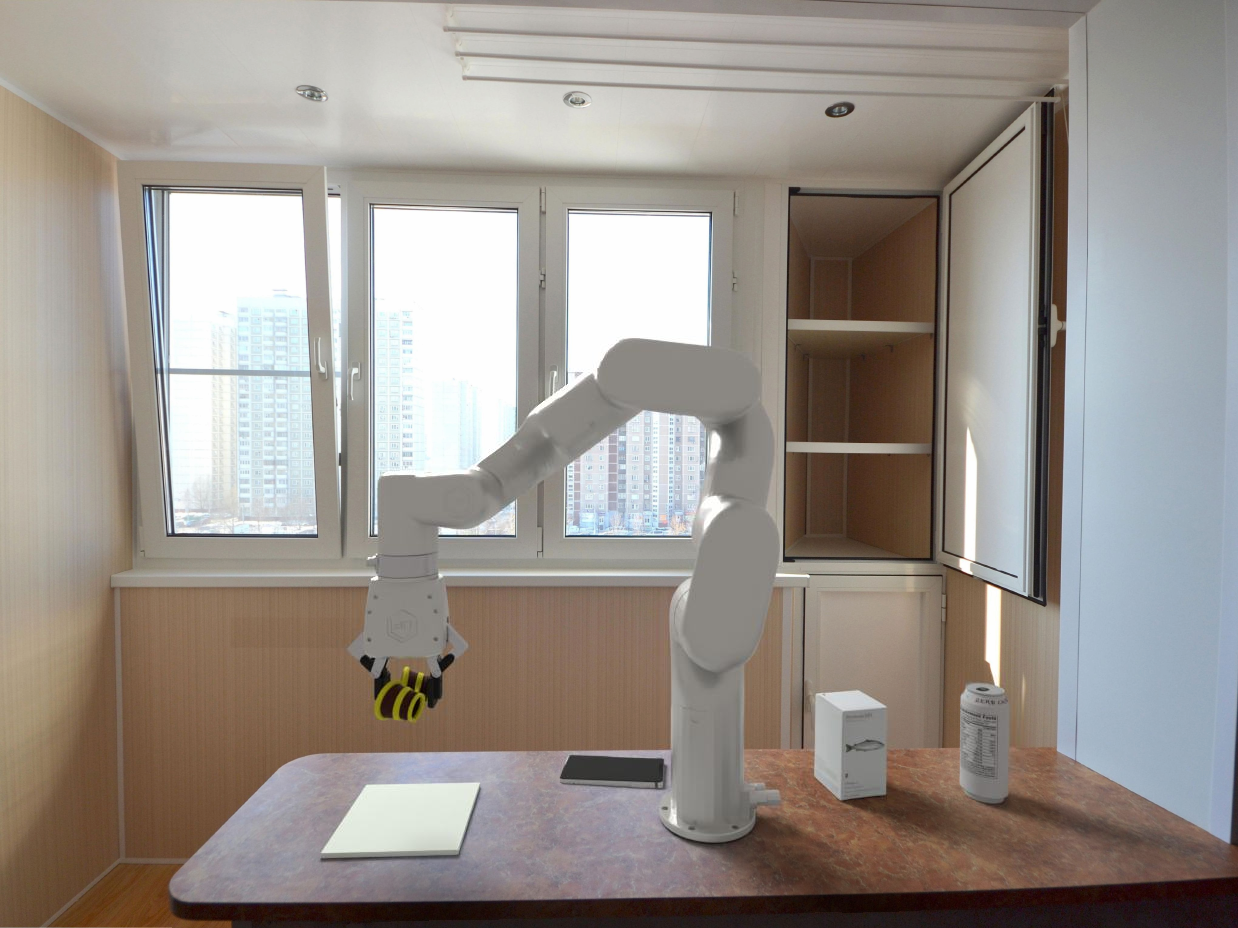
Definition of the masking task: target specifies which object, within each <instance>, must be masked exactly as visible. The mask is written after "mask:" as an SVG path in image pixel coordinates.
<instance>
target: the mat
mask: <svg viewBox="0 0 1238 928" xmlns="http://www.w3.org/2000/svg"><path fill="white" fill-rule="evenodd" d="M480 788H481V782H480V781H479V782H439V783H437V782H436V783H435V782H434V783H431V782H430V783H396V784H395V783H394V784H393V783H389V784H385V783H384V784H366V785H365V786H364V787H363V789H362V791H361V792H360V794H359V795H358V797H357V798H356V799H355V800H354V802H353V804H352V805H351V807H350V809H349V810H348V812H347V813H346V814H345V816H344V818H343V819H342V820H341V822H340V824H339V825H338V827H337V828H336V829H335V831H333V834H332V836H331V837H330V838H329V840H328V841H327V843H326V844H325V846H324V847H323V849H322V850H321V852H320V859H340V858H341V859H343V858H345V859H346V858H347V859H348V858H381V857H382V858H383V857H420V856H421V857H423V856H457V855H459V853H460V850H461V847H462V844H463V841H464V838H465V834H466V831H467V828H468V825H469V823H470V819H471V816H472V813H473V810H474V807H475V804H476V800H477V798H478V795H479V791H480Z"/></svg>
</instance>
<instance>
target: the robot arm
mask: <svg viewBox="0 0 1238 928" xmlns="http://www.w3.org/2000/svg"><path fill="white" fill-rule="evenodd" d="M762 391H763V379H762V374H761V372H760V369H759V368H758V366H757V364H756V363H755V362H754V361H753V359H751V357H750V356H748V355H746V354H744V353H743V352H741V351H739V350H736V349H732V348H727V347H722V346H713V345H711V346H710V345H704V344H694V343H686V342H684V343H683V342H677V341H676V342H675V341H667V340H665V341H664V340H659V339H650V338H649V339H648V338H639V337H628V338H622V339H619V340H616V341H615V342H613V343H611V344H610V345H609V346H608V347H606V348H605V349H604V350H603V351H602V354H601V355H600V357H599V359H598V361H597V362H596V363H595V364H594V365H592V366H591V367H589V368H588V369H587V370H586V371H584V372H583V373H582V374H580V375H579V376H578V377H577V378H575V379H574V380H572V381H571V382H569V383H568V384H566V386H563V388H561V389H560V390H558V391H556V392H555V393H554V394H553V395H551V396H549V397H548V398H547V399H545V400H544V401H543V402H541V403H540V404H539V405H537V406H536V407H535V408H534V409H533V410H532V411H531V412H530V413H529V414H528V415H527V416H526V418H525V419H524V421H523V422H522V425H520V427H519V428H518V429H517V430H516V432H515V433H513V435H511V436H510V437H509V438H508V439H507V440H506V441H504V442H503V443H502V444H501V445H500V446H498V447H497V448H496V449H494V450H492V451H491V452H490V453H489V454H487V455H486V456H485V457H483V458H481V459H480V460H479V461H478V462H476V463H475V464H474V465H472V466H470V467H469V468H464V469H457V470H451V471H447V472H436V473H432V472H430V471H425V470H395V471H394V470H393V471H386V472H384V473H382V474H381V475H380V476H379V478H378V480H377V488H376V491H377V493H376V494H377V495H376V496H377V503H376V504H377V508H376V509H377V514H376V515H377V517H376V518H377V522H376V523H377V553H376V554H375V555H373V556H372V557H366V561H365V565H366V568H367V569H373V570H375V574H376V575H377V576H374V577H371V578H370V581H369V586H368V591H367V597H366V604H365V605H366V606H365V615H364V625H363V631H362V632H361V633H360V634H359V635H358V636H357V637H356V638H355V640H354V641H352V643H351V644H350V645H349V646H348V647H347V652H348V653H349V654H350V655H351V656H352V657H354V659H356V660H358V661H359V663H360V665H362V667H364V669H365V670H367V672H369V673H370V677H371V678H372V679H374V680H373V682H374V683H373V689H374V690H373V691H374V692H373V695H374V696H373V699H374V701H376V699H377V697H378V695H379V693H380V692H381V690H382V689H383V687H384V686H385V685H386V684H387V683H389V682H390V681H392V680H391V679H392V678H391V676H392V675H391V672H390V670H388V668H387V667H388V664H389V661H390V659H422V658H423V659H426V663H427V664H428V668H429V670H430V672H429V675H428V676H429V677H428V680H427V702H426V704H427V703H428V704H427V708H428V709H434V708H435V707H436V705H437V703H438V701H439V700H441V699H442V698H443V673H444V672H445V671H446V670H447V669H448V668H449V667H450V666H451V665H452V664H453V663H454V662H455V661H456V660H457V659H458V658H460V656H462V655H463V654H464V653H465V652H466V651H467V649H468V648H469V643H468V642H467V641H466V640H465V639H464V638H463V637H462V636H461V634H459V632H458V631H457V630H456V629H455V628H454V627H453V626H452V625H451V622H450V609H449V602H448V594H447V593H448V592H447V588H446V581H445V577H444V575H443V574H442V573H439V528H444V529H451V530H459V531H461V530H469V529H474V528H475V527H478V526H480V525H481V524H483V523H485V522H486V521H488V520H490V519H492V518H494V517H495V516H496V515H498V514H499V513H500V512H501V511H503V510H504V509H506V508H507V507H508V506H509V505H511V504H513V502H516V501H517V500H518V499H520V497H522V496H523V495H524V494H526V493H527V492H528V491H530V490H531V489H533V488H534V487H535V486H537V485H538V484H540V483H541V482H543V481H544V480H546V479H547V478H548V477H550V476H551V475H553V474H556V473H557V472H559V471H561V470H563V469H565V468H566V467H568V466H569V465H571V464H572V463H573V462H574V461H576V460H577V459H580V457H582V456H583V455H584V454H586V453H587V452H588V451H590V450H591V449H592V448H594V447H595V446H596V445H598V444H599V443H600V442H602V441H603V440H604V439H606V438H608V437H609V436H610V435H611V434H613V433H614V432H615V431H617V430H618V429H620V428H621V427H622V426H624V425H625V424H627V423H628V422H629V421H631V420H632V419H634V418H635V417H637V416H638V415H639V414H641V412H643V411H647V412H654V413H662V414H669V415H670V414H671V415H679V416H685V417H686V416H687V417H694V418H695V419H697V420H698V422H699V421H700V423H701V424H702V425H703V427H704V428H705V431H706V434H707V437H708V455H707V457H708V458H707V462H706V466H705V467H706V468H705V472H704V473H705V475H704V479H703V483H702V488H701V491H700V496H699V499H698V504H697V508H696V511H695V515H694V517H693V522H692V525H691V532H690V533H691V534H690V536H691V542H692V546H693V548H694V550H695V552H696V557H695V559H694V560H695V561H694V566H693V570H692V574H691V577H688V578H687V579H685V580H684V581H683V582H681V584H680V585H679V586H678V587H677V588H676V590H675V592H674V593H673V595H672V598H671V602H670V605H669V613H668V615H669V616H668V621H669V623H668V624H669V626H668V628H669V639H670V640H669V641H670V672H671V673H670V679H671V680H670V683H671V684H670V685H671V686H670V687H671V688H670V690H671V691H670V695H671V696H670V790H669V791H668V792H665V794H663V796H662V797H661V798H660V799H659V803H658V816H659V819H660V821H661V823H662V824H663V825H664V827H666V828H667V829H668V830H670V831H671V832H672V833H674V834H676V835H678V836H679V837H682V838H684V839H688V840H691V841H695V842H703V843H711V844H712V843H714V844H715V843H727V842H731V841H734V840H735V841H736V840H737V839H740V838H742V837H744V836H746V835H747V834H749V833H750V831H752V830H753V828H754V826H755V824H756V810H757V809H758V807H763V806H764V807H780V806H781V805H782V804H781V803H782V798H781V793H780V790H779V789H767V787H766V784H765V783H766V782H755V783H748V781H746V780H745V779H744V778H745V777H744V775H745V774H744V773H745V772H744V770H745V769H744V768H745V767H744V761H745V760H744V758H745V757H744V756H745V754H744V752H745V749H744V748H745V745H744V743H745V735H744V734H745V665H746V664H747V663H748V662H749V660H750V659H751V658H752V657H753V655H754V654H755V653H756V651H757V648H758V646H759V644H760V641H761V639H762V635H763V633H764V628H765V624H766V621H767V620H766V619H767V615H768V611H769V608H770V603H771V598H772V594H773V590H774V589H773V588H774V585H775V580H776V576H777V573H778V567H779V562H780V555H781V541H780V532H779V529H778V527H777V525H776V522H775V520H774V519H773V517H772V516H771V514H769V512H768V511H767V510H766V508H767V503H768V497H769V492H770V488H771V481H772V475H773V470H774V464H775V463H774V462H775V456H776V455H775V454H776V445H775V443H776V442H775V434H774V430H773V426H772V423H771V420H770V416H768V413H767V411H766V409H765V406H763V403H762V402H761V400H760V397H761V394H762ZM449 643H450V644H451V646H452V649H450V651H449V652H447V653H446V655H445V656H443V654H442V653H443V652H444V651H445V649H446V647H447V646H448V645H449Z"/></svg>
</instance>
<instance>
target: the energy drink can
mask: <svg viewBox="0 0 1238 928" xmlns="http://www.w3.org/2000/svg"><path fill="white" fill-rule="evenodd" d="M1005 693H1006V691H1005V689H1004V688H1002V687H1000V686H999V685H998V686H997V685H995V684H991V683H988V682H979V681H978V682H968V683H966V684H965V689H964V690H963V692H962V694H961V695H960V712H959V713H960V716H959V717H960V718H959V719H960V723H959V724H960V726H959V727H960V728H959V730H960V731H959V732H960V734H959V785H960V786H961V788H962V789H963V791H964V794H965V795H967V796H968V797H969V798H971V799H973V800H975V801H978V802H981V803H986V804H1001V803H1003V802H1004V801H1005V798H1006V797H1008V796H1009V794H1010V792H1009V791H1010V789H1009V787H1010V784H1009V783H1010V781H1009V780H1010V776H1009V775H1010V772H1009V771H1010V719H1011V718H1010V713H1011V712H1010V711H1011V709H1010V707H1011V705H1010V701H1009V700H1008V698H1007V697H1006V695H1005Z"/></svg>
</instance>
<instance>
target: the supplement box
mask: <svg viewBox="0 0 1238 928" xmlns="http://www.w3.org/2000/svg"><path fill="white" fill-rule="evenodd" d="M814 697H815V702H814V703H815V704H814V705H815V706H814V707H815V709H814V711H815V713H814V715H815V716H814V718H815V719H814V769H813V770H814V772H813V773H814V774H813V775H814V777H815V779H816V780H817V781H819V783H820V784H822V785H823V786H824V787H825V788H826V789H827V790H828V791H829V792H830V793H832V795H834V796H835V797H836V798H837V799H838V800H840V801H845V800H850V799H859V798H867V797H875V796H886V795H887V761H888V759H887V757H888V756H887V755H888V754H887V753H888V752H887V751H888V749H887V748H888V746H887V745H888V744H887V743H888V706H886V705H884V704H883V703H881V702H879V701H878V700H876V699H874V698H873V697H871V696H869V695H867V694H866V693H864V692H862V691H861V690H858V689H857V690H856V689H855V690H845V691H834V692H831V691H830V692H820V693H818V692H817V693H815V695H814Z"/></svg>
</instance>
